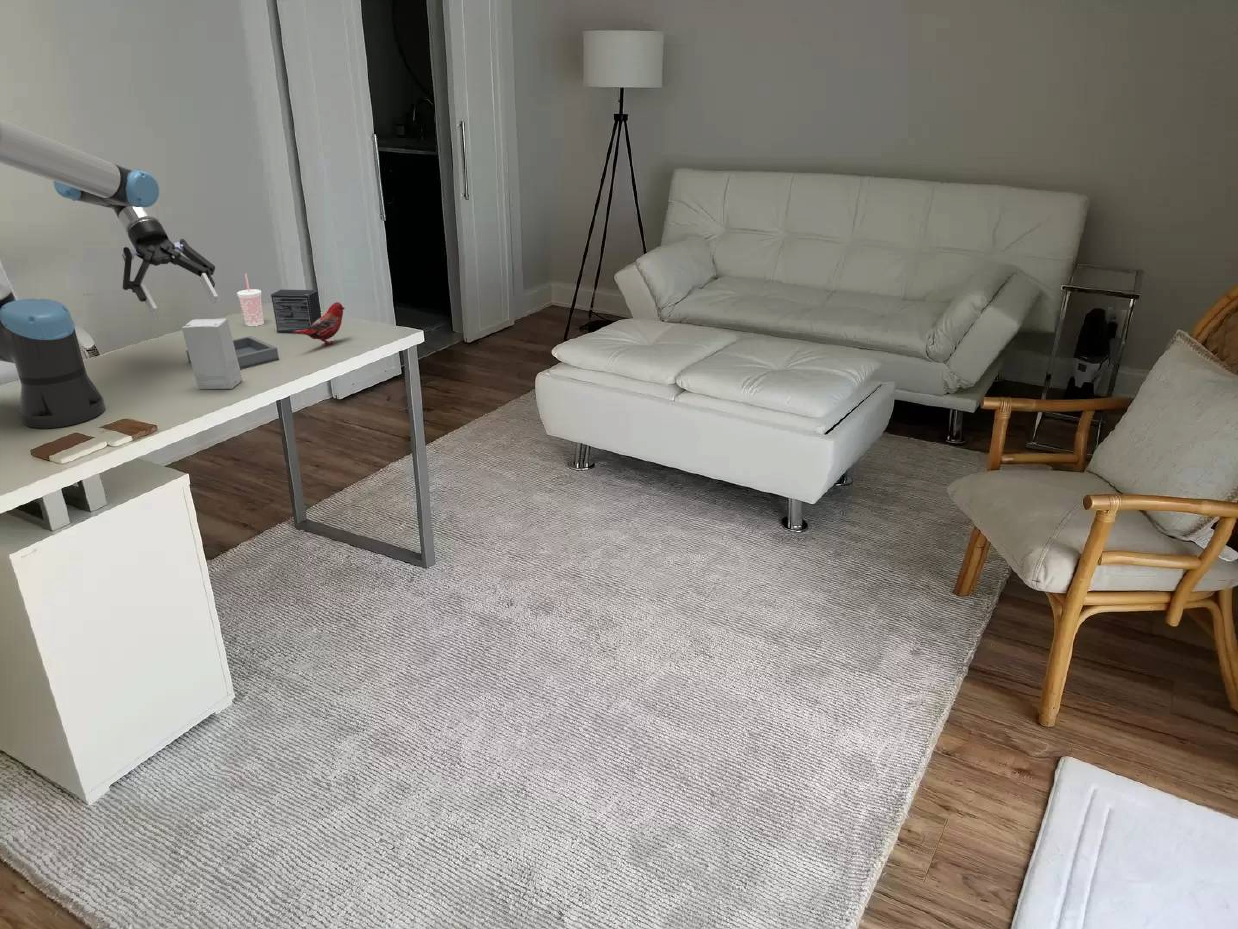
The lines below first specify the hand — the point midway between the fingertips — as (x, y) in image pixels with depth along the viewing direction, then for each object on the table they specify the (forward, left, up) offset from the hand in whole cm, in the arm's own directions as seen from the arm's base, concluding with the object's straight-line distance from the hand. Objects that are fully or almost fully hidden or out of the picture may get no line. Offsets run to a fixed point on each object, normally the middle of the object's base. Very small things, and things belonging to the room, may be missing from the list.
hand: (185, 305), depth 202 cm
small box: (+34, +16, -17) cm, 41 cm away
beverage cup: (+28, +30, -17) cm, 44 cm away
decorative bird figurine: (+30, -2, -17) cm, 35 cm away
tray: (+10, +4, -16) cm, 19 cm away
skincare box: (0, -10, -17) cm, 20 cm away
